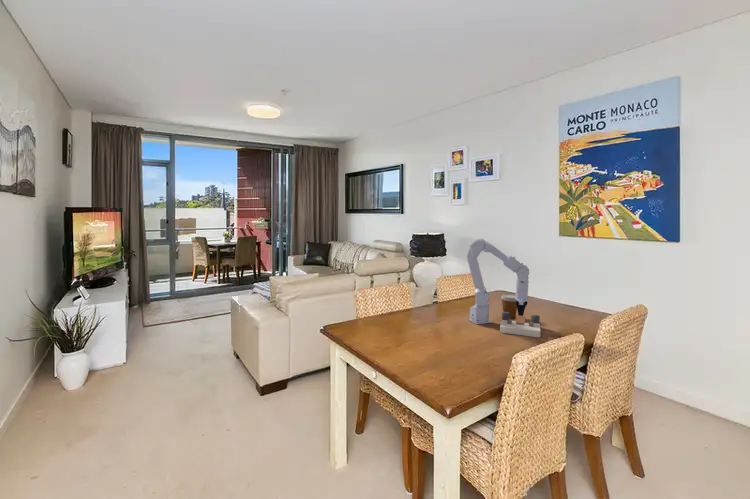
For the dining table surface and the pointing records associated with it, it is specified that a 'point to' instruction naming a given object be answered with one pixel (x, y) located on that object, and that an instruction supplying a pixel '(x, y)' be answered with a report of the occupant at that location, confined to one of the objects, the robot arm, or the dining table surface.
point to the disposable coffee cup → (509, 304)
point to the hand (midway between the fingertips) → (520, 315)
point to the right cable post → (535, 319)
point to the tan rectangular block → (520, 320)
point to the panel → (520, 328)
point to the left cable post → (505, 315)
